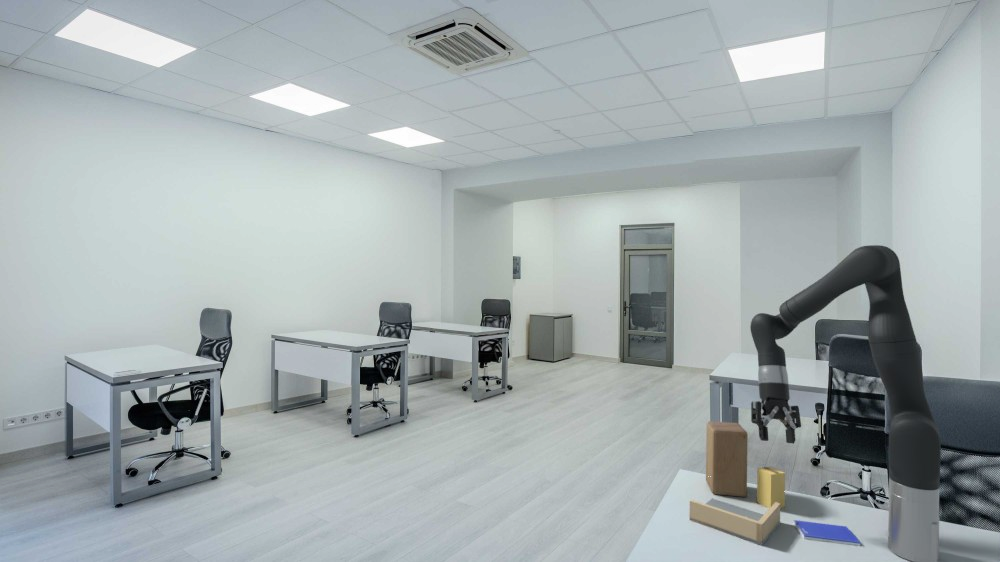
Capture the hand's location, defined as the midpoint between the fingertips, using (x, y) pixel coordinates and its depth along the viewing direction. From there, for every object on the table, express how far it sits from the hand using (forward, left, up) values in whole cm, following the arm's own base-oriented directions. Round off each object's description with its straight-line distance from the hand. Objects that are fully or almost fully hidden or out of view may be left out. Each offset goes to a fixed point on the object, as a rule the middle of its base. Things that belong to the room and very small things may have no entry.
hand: (777, 442), depth 136 cm
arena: (+7, +12, -21) cm, 25 cm away
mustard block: (+3, -6, -21) cm, 22 cm away
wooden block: (+16, -7, -21) cm, 27 cm away
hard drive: (-12, +2, -21) cm, 24 cm away
